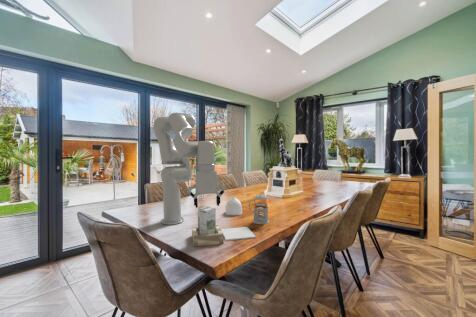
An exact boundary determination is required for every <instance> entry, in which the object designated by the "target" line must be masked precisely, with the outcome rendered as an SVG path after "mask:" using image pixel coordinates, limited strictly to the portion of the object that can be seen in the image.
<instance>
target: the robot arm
mask: <svg viewBox="0 0 476 317" xmlns="http://www.w3.org/2000/svg"><path fill="white" fill-rule="evenodd" d="M195 126H196V119H195V117H194V116H193V114H191V113H185V112H184V113H182V112H172V113H170V114H169V115H168V116H160V117H156V118H155V120H154V121H153V131H154V135H155V137H156V140H157V141H158V147H159V156H160V160H161V162H162V163H163V164H164V165H167V166H165V167H164V168H162V169H161V172H160V177H161V184H162V198H163V199H162V200H163V202H162V204H163V218H161V219H160V223H161V224H162V225H166V226H167V225H169V226H170V225H172V226H173V225H179V224H181V223H183V222H184V221H185V220H184V219H185V218H184V217H182V202H181V189H180V187H179V186H178V185H177V184H178V183H186V182H190V180H192V177H193V173H192V172H193V171H192V165H191V161H190V158H197V165H194V170H197V171H196V173H195V179H194V180H195V183H194V185H191V186H190V187H188V188H187V192H188V194H189V195H190V196H191V197H192V199H193V206H195V208H196V209H197V208H198V207H199V206H198V202H199V201H198V196H199V195H213V194H215V195H216V198H215V199H216V206H218V207H220V204H221V196H222V195H223V194H224V193H225V190H226V188H227V186H225V185H223V184H221V183H220V182H219V179H218V178H219V177H218V173H217V172H218V171H216V170H215V169H216V168H215V167H216V166H215V144H214V142H213V141H212V140H200V141H196V140H195V141H193V140H188V141H186V140H187V139H190V137H191V136H192V135H193V133H194V132H193V129H194V128H195ZM169 133H174V134H175V135H174V139H173V138H172V137H171V135H170V134H169ZM171 165H172V166H171ZM219 188H221V190H220V189H219ZM194 189H195V193H193V192H192V190H194ZM219 190H220V191H219Z"/></svg>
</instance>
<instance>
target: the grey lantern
mask: <svg viewBox="0 0 476 317" xmlns="http://www.w3.org/2000/svg"><path fill="white" fill-rule="evenodd" d="M258 179H259V181H262V180H263V178H262V177H259V178H258ZM267 199H269V197H268V196H267V195H265V194H262V193H259V194H257V195H255V196H254V197H253V198H252V199H251V200H250V201H249V204H248V208H249V210H250V212H251V213H253V220H252V223H253V224H256V225H257V224H258V225H266V224H270V220H269V211H268V210H269V207H268V204H267V203H265V202H264V203H263V202H257V203H256V202H255V201H256V200H260V201H262V200H267ZM252 202H254V208H253V209H254V210H252V209H251V203H252Z"/></svg>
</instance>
